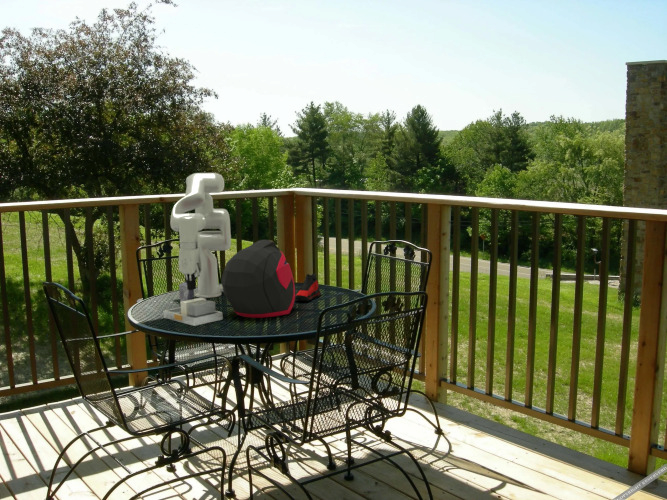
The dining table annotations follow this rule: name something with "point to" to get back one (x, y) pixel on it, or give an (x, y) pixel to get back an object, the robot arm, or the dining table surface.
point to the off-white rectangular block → (186, 305)
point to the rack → (195, 314)
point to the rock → (185, 292)
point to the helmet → (259, 281)
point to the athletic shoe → (308, 289)
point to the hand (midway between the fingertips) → (191, 289)
